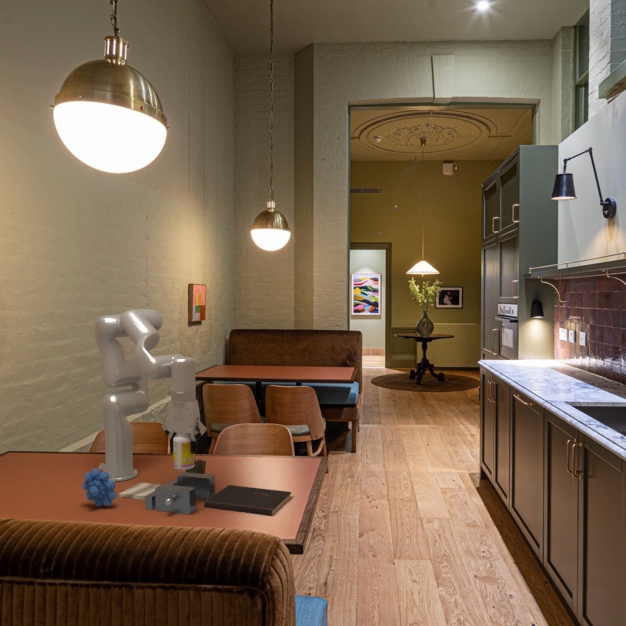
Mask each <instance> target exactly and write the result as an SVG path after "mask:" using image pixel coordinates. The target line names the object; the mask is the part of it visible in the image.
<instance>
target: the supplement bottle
mask: <svg viewBox="0 0 626 626" xmlns="http://www.w3.org/2000/svg"><path fill="white" fill-rule="evenodd" d="M191 441H192V438H191V436H190V434H187V433H177V434H176V436H175V437H174V438H173V452H172V453H173V454H172V455H173V456H172V457H173V461H172V462H173V468H174V469H175V470H178V471H185V470H188V469H191V468H193V467H194V466H195V459H196V458H195V457H196V456H195V455H196V454H195V453H194V454H191Z"/></svg>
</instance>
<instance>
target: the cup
mask: <svg viewBox="0 0 626 626" xmlns="http://www.w3.org/2000/svg"><path fill="white" fill-rule="evenodd" d="M206 467H207V460H205V459H204V460H202V459H199V458H197V459H196V458H195V466H194V467H193V468H191V469H188V470H184V472H188V473H198V474H206Z"/></svg>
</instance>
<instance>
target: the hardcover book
mask: <svg viewBox="0 0 626 626" xmlns="http://www.w3.org/2000/svg"><path fill="white" fill-rule="evenodd" d="M291 494H292V492H291V491H287V490H277V489H269V488H259V487H251V486H250V487H249V486H241V485H235V484H234V485H232V484H228V485H227V486H225V487H224V488H223V489H221V490H219V491H218V492H216V493H215V495H214V496H212V497H211V498H209V499H208V500H205V501H204V503H203V505H204V508H206V509H214V510H222V511H230V512H236V513H243V512H244V514H245V513H246V514H250V515H251V514H252V515H259V516H266V517H267V516H268V517H273V515H274V514H275V513H276V512H277V511H278V510H279V509H280V508H281V507H282V506H283V505H284V504H285V503H287V501H288V500H289V499H290V498H291Z"/></svg>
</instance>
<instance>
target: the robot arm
mask: <svg viewBox="0 0 626 626" xmlns="http://www.w3.org/2000/svg"><path fill="white" fill-rule="evenodd" d="M162 325H163V318H162V316H161V313H160V312H159V311H158V310H156V309H153V308H139V309H138V308H134V309H128V310H126V311H124V312H123V313H116V314H106V315H102V316H100V317H98V318H97V320H96V321H95V323H94V327H93V333H94V334H93V335H94V339H95V341H96V344H97V347H98V349H99V354H100V365H101V374H102V381H103V384H104V386H105V387H107V388H109V389H110V388H111V389H112V388H114V389H115V388H121V387H123V388H124V387H128V386H130V388H129V389H122V390H116V391H111V392H108V393H106V394H104V396H103V397H102V398H101V401H100V409H101V412H102V418H103V425H104V447H105V449H104V452H105V454H104V456H105V462H100V464H99V465H98V467H97V469H98V470H99V471H102V472H106V473H108V475H109V480H112V481H114V482H116V481H117V482H123V481H124V482H125V481H127V480H131V479H133V478H136V476H138V473H139V472H138V470H137V469H136V468H134V455H133V454H134V453H133V449H134V448H133V427H132V424H131V423H130V422H129V421H128V419H127V416H131V415H132V416H133V415H137V414H141V413H142V414H143V413H145V412H146V411H147V410H148V409H149V407H150V390H149V382H148V381H149V380H152V381H156V380H163V379H170V388H171V390H170V391H168V393H167V395H168V396H170V399H169V400H168V404H167V409H166V417H165V418H166V419H165V422H163V423H162V424H161V427H160V428H162V429H163V431H164V433H165V434H166V436H167V439H169V448H170V449H169V450H170V452H172V453H173V438H174V437H175V436H176V435H177V433H187V434H190V436H191V438H192V441H191V454H194V453H197V452H198V451H199V440H200V439H201V438H202V436H203V435H204V434H205V433H206V431H207V430H208V429H207V427H206V426H205V425H204V424H203V423H202V422H201V414H200V407H199V402H198V399H196V398H197V397H196V396H197V395H196V360H195V358H194V357H191V356H184V355H183V354H179V353H175V354H163V355H154V356H152V354H150V351H152V350H153V349H155V348H156V346H158V344H159V342H160V340H161V334H160V332H159V330H160V329H161V328H162ZM127 337H128V338H130V340H131V341H132V342H133V343H134V345H135V348H134V352H133V355H134V356H133V357H134V359H129V360H128V359H127V360H126V355H125V348H124V346H123V345H122V343H121V342H120V341H119V340H118V339H117V338H127ZM148 379H149V380H148Z"/></svg>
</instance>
